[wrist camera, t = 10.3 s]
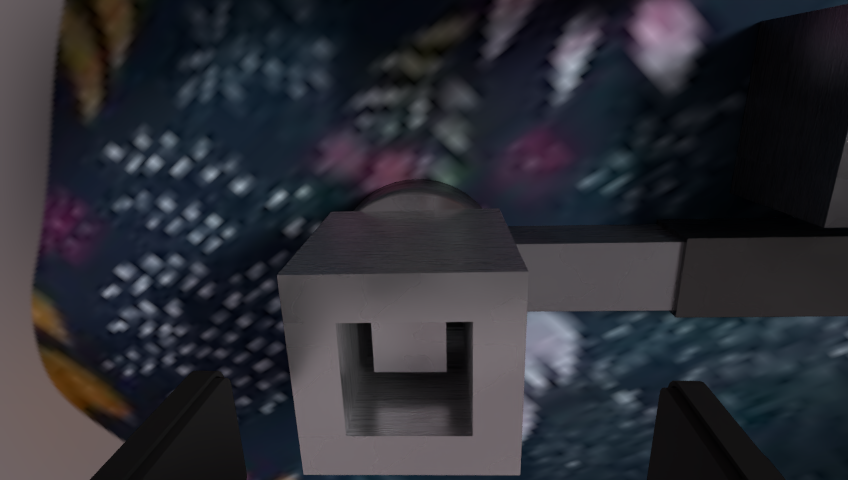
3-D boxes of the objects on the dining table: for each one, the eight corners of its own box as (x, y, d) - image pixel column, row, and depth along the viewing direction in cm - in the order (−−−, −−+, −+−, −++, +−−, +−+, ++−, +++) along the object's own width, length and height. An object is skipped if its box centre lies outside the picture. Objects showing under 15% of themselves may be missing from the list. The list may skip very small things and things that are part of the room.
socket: (498, 208, 17) (528, 271, 11) (495, 356, 19) (520, 475, 13) (331, 211, 17) (277, 274, 11) (344, 357, 19) (304, 474, 13)
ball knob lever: (867, 170, 19) (1097, 216, 12) (825, 327, 21) (1003, 438, 14) (333, 180, 20) (278, 228, 13) (345, 330, 22) (304, 436, 15)
